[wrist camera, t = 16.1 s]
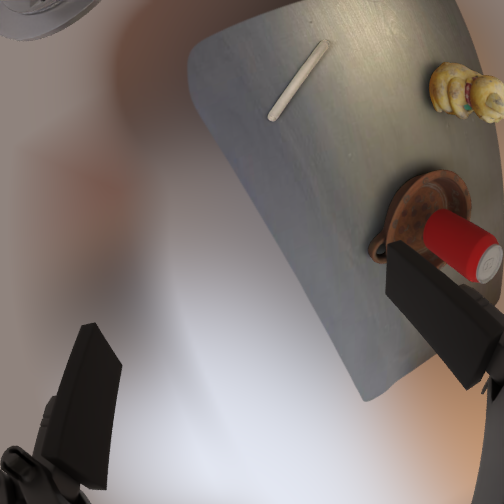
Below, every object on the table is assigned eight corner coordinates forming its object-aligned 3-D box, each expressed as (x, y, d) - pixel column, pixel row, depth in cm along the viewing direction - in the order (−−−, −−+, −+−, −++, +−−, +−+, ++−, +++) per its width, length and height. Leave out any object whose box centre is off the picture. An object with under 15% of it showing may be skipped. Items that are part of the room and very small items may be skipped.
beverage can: (448, 243, 41) (499, 280, 30) (417, 252, 41) (469, 295, 30) (452, 203, 38) (509, 235, 27) (421, 210, 38) (480, 246, 27)
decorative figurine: (429, 121, 37) (505, 137, 24) (410, 71, 33) (488, 70, 20) (464, 102, 36) (534, 115, 23) (448, 56, 32) (520, 57, 19)
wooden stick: (264, 117, 34) (266, 117, 33) (321, 39, 30) (325, 37, 29) (272, 123, 34) (275, 123, 33) (328, 44, 31) (332, 43, 30)
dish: (345, 199, 40) (363, 211, 36) (451, 142, 39) (472, 148, 35) (375, 288, 48) (389, 304, 44) (464, 228, 47) (481, 239, 43)
